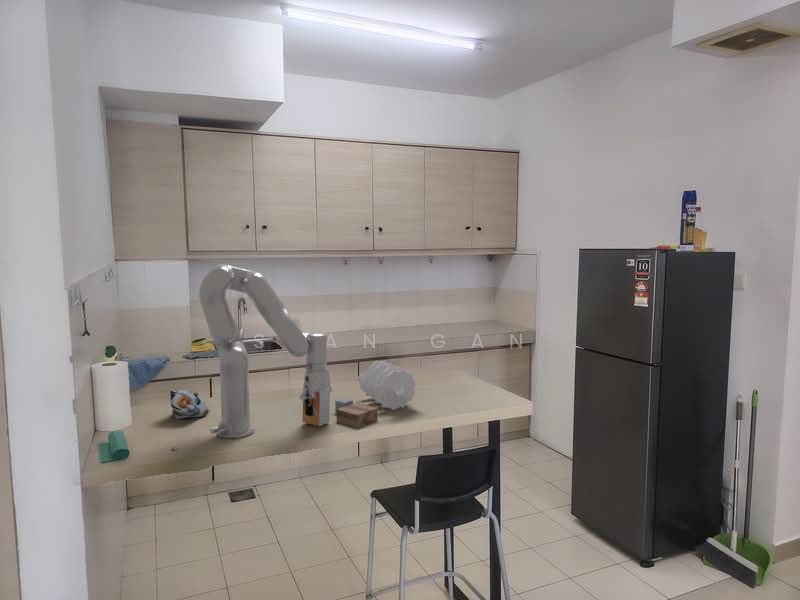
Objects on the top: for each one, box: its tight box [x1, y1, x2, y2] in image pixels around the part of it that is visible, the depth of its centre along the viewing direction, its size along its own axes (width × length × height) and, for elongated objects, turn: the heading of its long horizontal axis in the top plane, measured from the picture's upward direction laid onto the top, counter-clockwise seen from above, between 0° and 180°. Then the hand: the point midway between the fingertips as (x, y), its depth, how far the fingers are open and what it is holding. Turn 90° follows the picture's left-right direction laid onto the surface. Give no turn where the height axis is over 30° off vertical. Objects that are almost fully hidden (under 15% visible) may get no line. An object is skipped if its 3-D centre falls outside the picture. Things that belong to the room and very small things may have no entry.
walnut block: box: [336, 402, 378, 428], centre depth 207 cm, size 11×11×5 cm
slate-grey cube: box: [334, 397, 354, 414], centre depth 217 cm, size 5×5×5 cm
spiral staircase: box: [357, 360, 417, 411], centre depth 228 cm, size 18×18×25 cm
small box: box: [302, 388, 331, 427], centre depth 203 cm, size 8×6×13 cm
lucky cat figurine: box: [169, 388, 210, 420], centre depth 210 cm, size 15×12×14 cm
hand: (316, 412), depth 203 cm, fingers closed on small box, 6 cm apart
